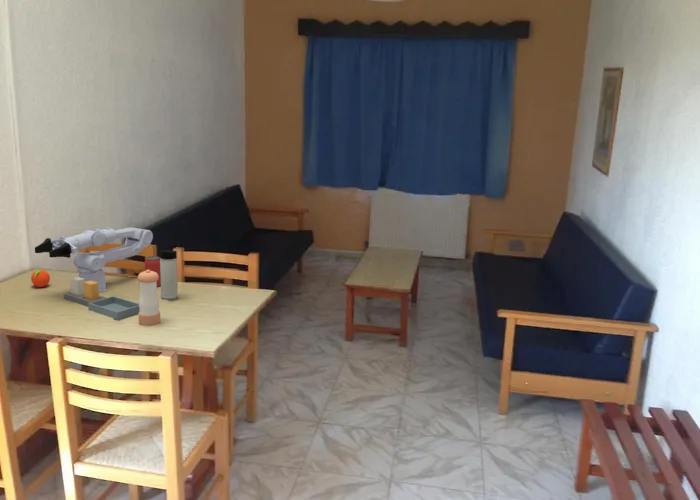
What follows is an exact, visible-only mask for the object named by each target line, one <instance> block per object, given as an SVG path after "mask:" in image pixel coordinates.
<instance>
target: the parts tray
mask: <svg viewBox="0 0 700 500" xmlns="http://www.w3.org/2000/svg"><path fill="white" fill-rule="evenodd" d="M87 307H88V311H92V312H94V313H98V314H100V315H103V316H107V317H109V318H112V319H113V320H115V321H120V320H121V321H122V320H124V319H126V318H130V317H132V316H133V317H134V316H136V315H139V312H140V310H139V303H138V302H135V301H131V300H128V299H124V298H121V297H118V296H114V295H112V296H111V295H110V296H109V297H106V298H105V299H101V300H98V301H94V302H91V303H88V306H87Z"/></svg>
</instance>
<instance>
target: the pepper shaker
mask: <svg viewBox="0 0 700 500" xmlns="http://www.w3.org/2000/svg"><path fill="white" fill-rule="evenodd" d="M158 278H159V276H158V274H157V273H156V272H153V271H150V270H146V271H145V270H143V271H142V272H140V273H139V274H138V275H137V281H138V282H139V283H140V284H139V285H140V286H139V289H140V295H139V300H138V301H139V303H138V304H139V310H140V312H139V314H138V324H140V325H142V326H154V325H157V324H158V325H159V324H160V323H161V311H160V301H159V297H158V288H157V282H156V281H158Z"/></svg>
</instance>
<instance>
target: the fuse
mask: <svg viewBox="0 0 700 500" xmlns="http://www.w3.org/2000/svg"><path fill="white" fill-rule="evenodd" d="M69 279H70V281H69V282H70V292H71V294H73V295H76V296H81V295H84V282H85V280H84V279H83V278H80V277H79V276H74V277H70V278H69Z"/></svg>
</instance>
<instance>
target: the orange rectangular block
mask: <svg viewBox="0 0 700 500" xmlns="http://www.w3.org/2000/svg"><path fill="white" fill-rule="evenodd" d="M99 294H100V292H99V291H98V283H97V282H94V281H87V282H84V298H85V299H88V300H91V301H92V300H95V299H99V296H100V295H99Z"/></svg>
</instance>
